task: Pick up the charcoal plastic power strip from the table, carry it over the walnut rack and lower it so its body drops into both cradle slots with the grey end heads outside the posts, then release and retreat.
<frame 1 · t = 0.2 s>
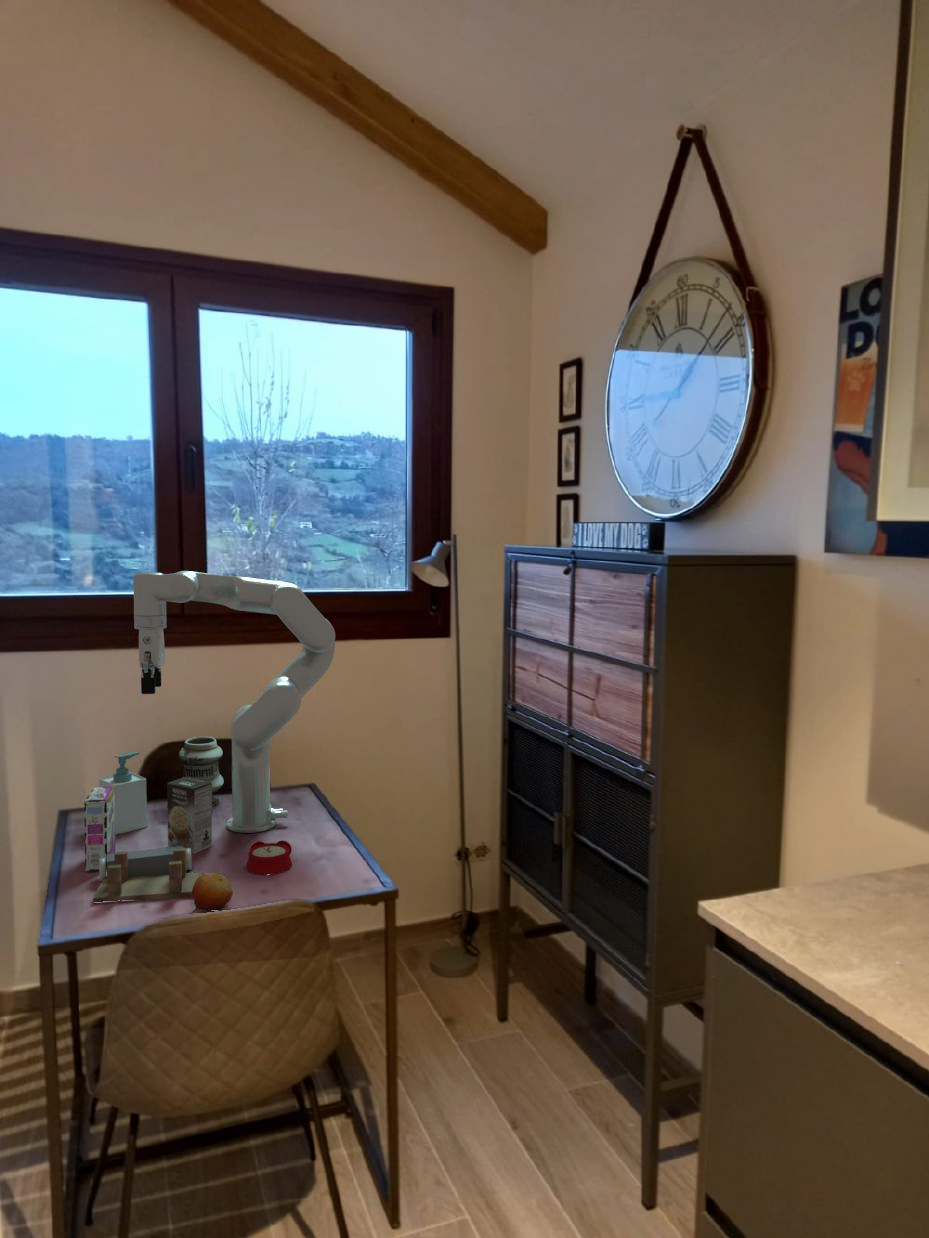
hand: (151, 690, 214), 36 cm above the table, tool pointing down, fingers open, 9 cm apart
apothecary jar: (201, 802, 241), on the table
candy bar box: (101, 863, 197), on the table
soap bottle: (124, 827, 220), on the table
power strip: (146, 875, 190), on the table
rack: (148, 890, 182), on the table
coffee box: (190, 847, 208), on the table
fruit: (212, 908, 174), on the table
alarm clock: (269, 865, 198), on the table
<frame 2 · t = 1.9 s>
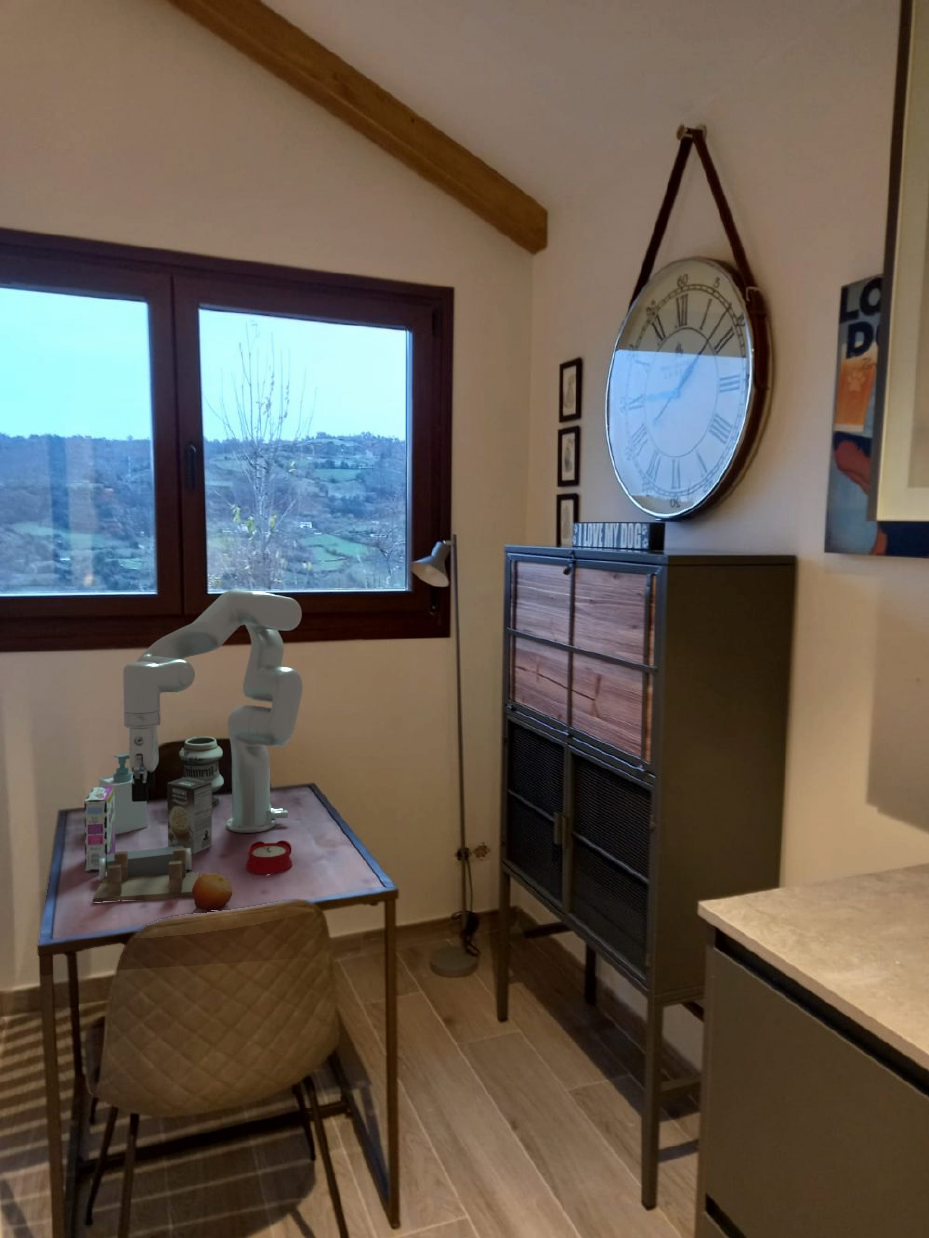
hand: (143, 794, 189), 18 cm above the table, tool pointing down, fingers open, 9 cm apart
nothing on the table moved.
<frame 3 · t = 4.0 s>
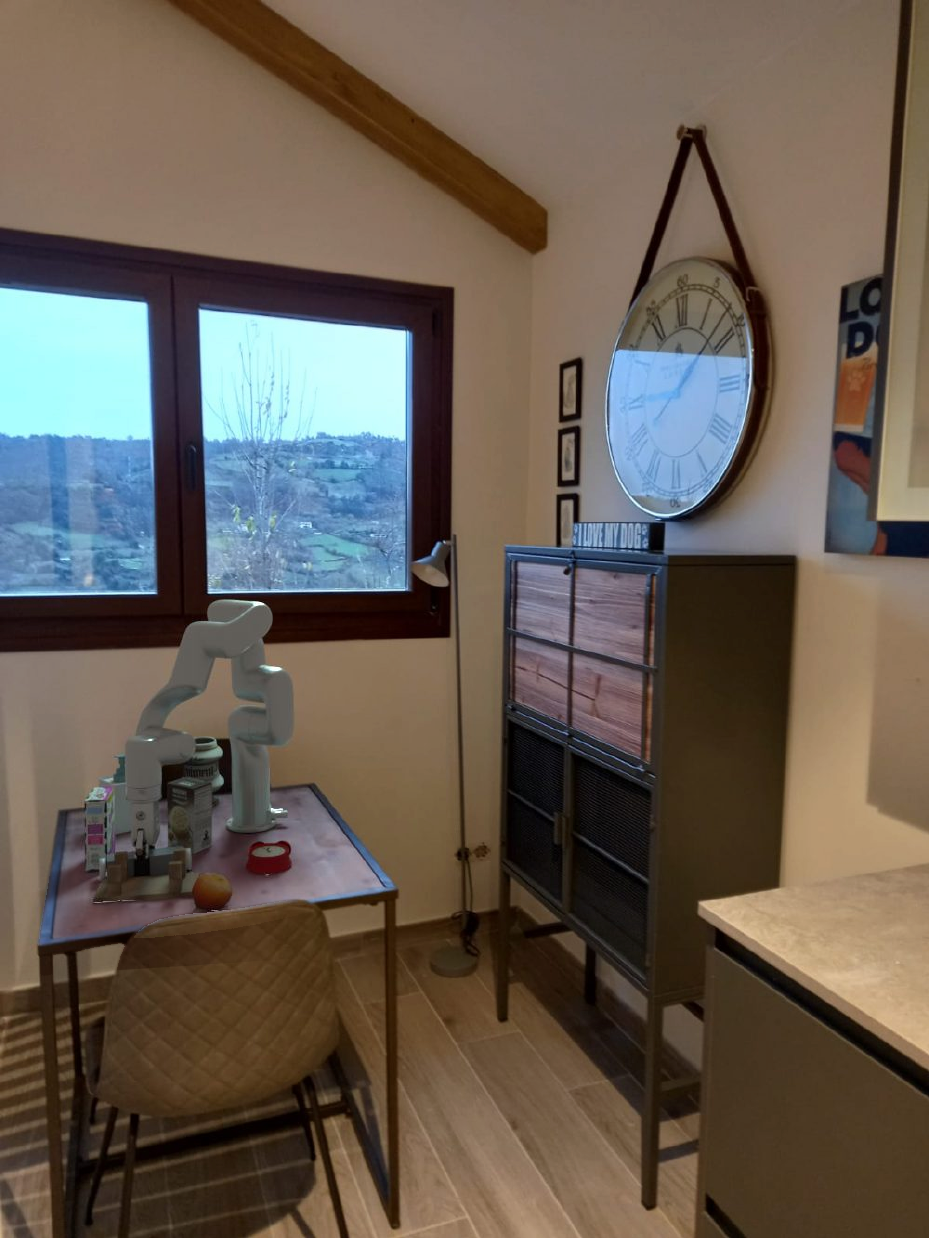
hand: (144, 868, 191), 1 cm above the table, tool pointing down, fingers open, 7 cm apart
nothing on the table moved.
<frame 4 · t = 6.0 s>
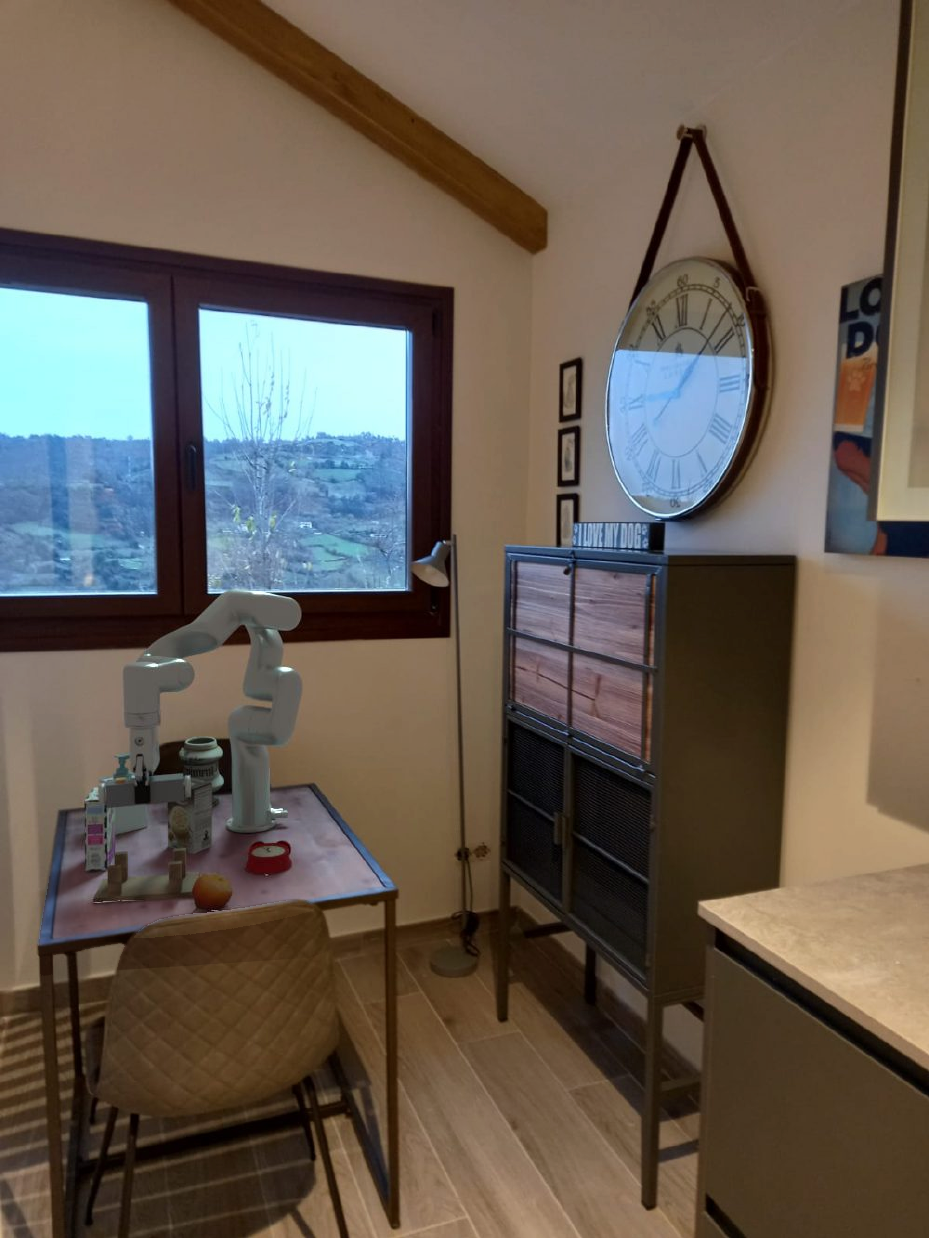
hand: (144, 798, 190), 17 cm above the table, tool pointing down, fingers closed on power strip, 5 cm apart
power strip: (146, 801, 190), point 16 cm above the table, touching gripper
everything else where it was.
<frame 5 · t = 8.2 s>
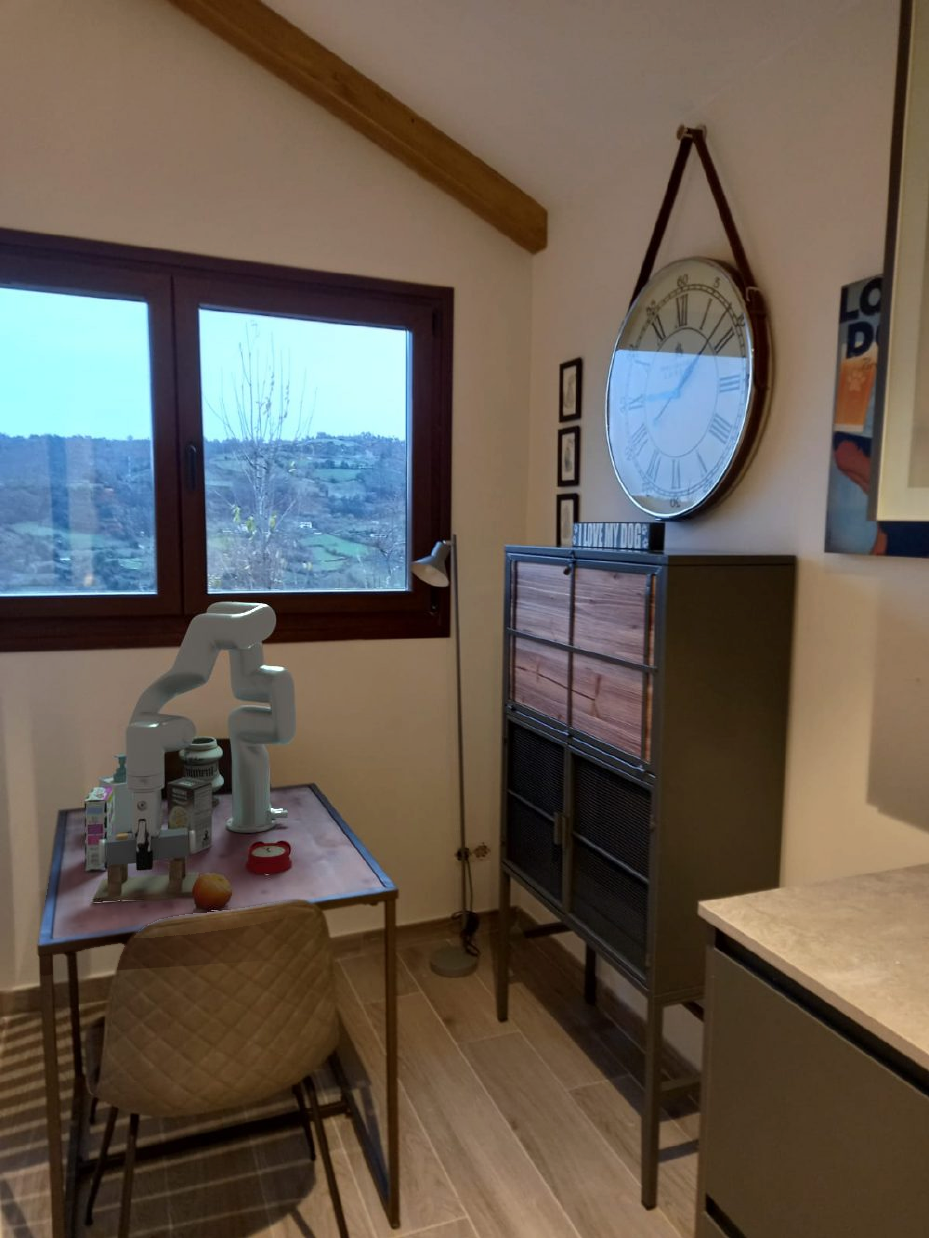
hand: (146, 863, 181), 6 cm above the table, tool pointing down, fingers closed on power strip, 5 cm apart
power strip: (148, 857, 181), point 7 cm above the table, touching gripper, rack
everything else where it was.
when the fingers open (2 cm above the table, at t = 9.5 s): power strip drops 3 cm, resting on rack.
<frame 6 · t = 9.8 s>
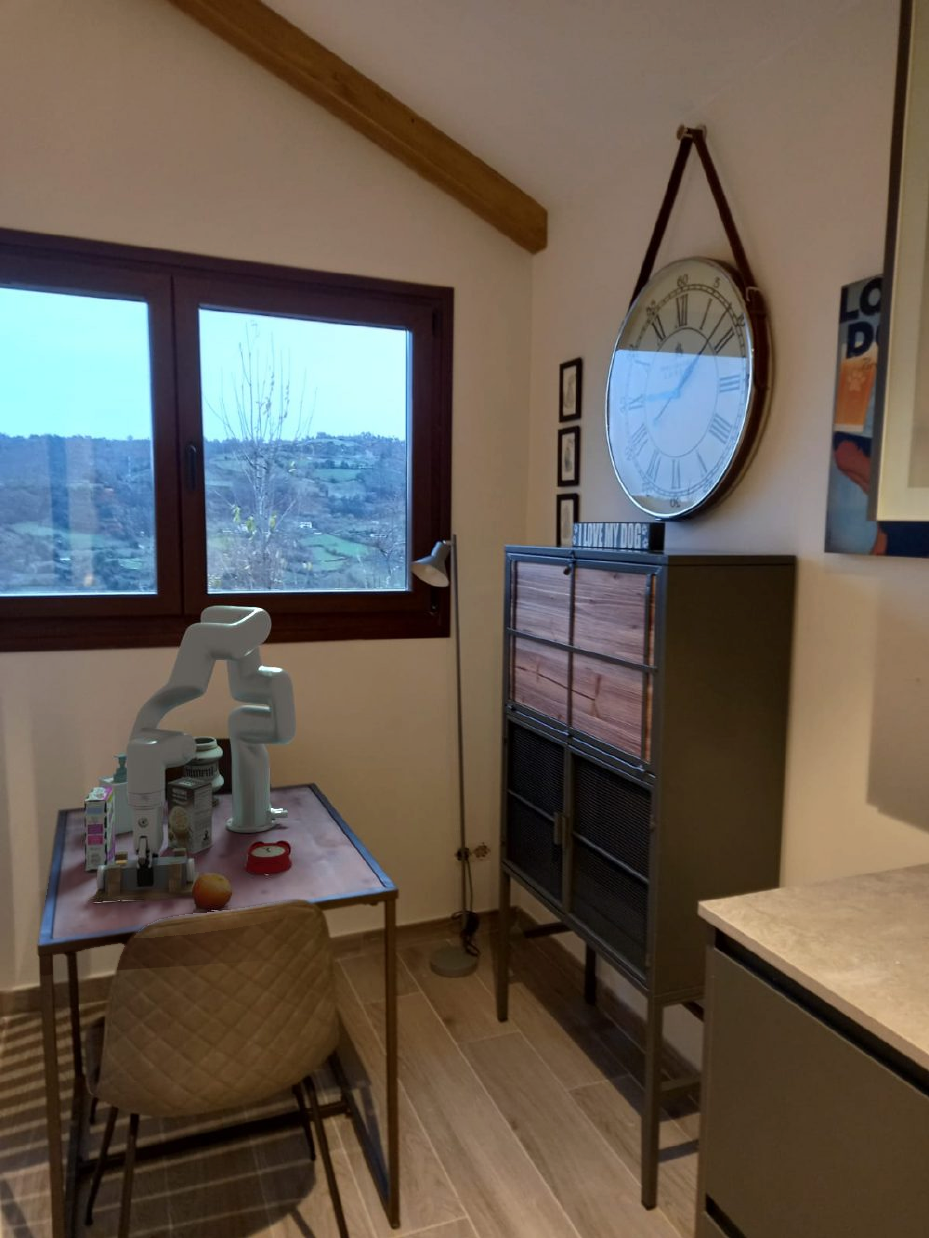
hand: (148, 877, 182), 3 cm above the table, tool pointing down, fingers open, 7 cm apart
power strip: (147, 885, 182), point 1 cm above the table, touching rack
everything else where it was.
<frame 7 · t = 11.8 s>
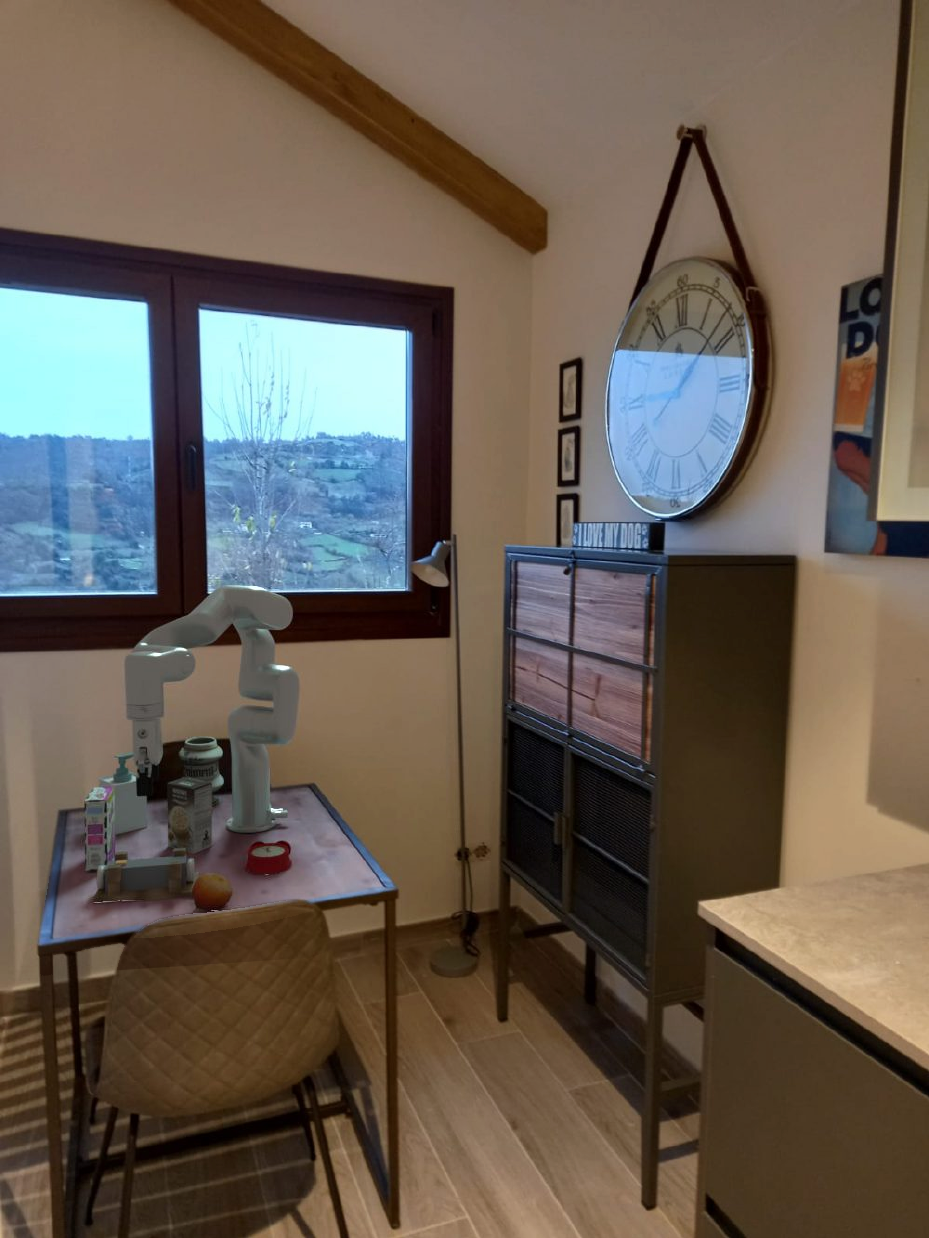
hand: (148, 788, 183), 21 cm above the table, tool pointing down, fingers open, 9 cm apart
nothing on the table moved.
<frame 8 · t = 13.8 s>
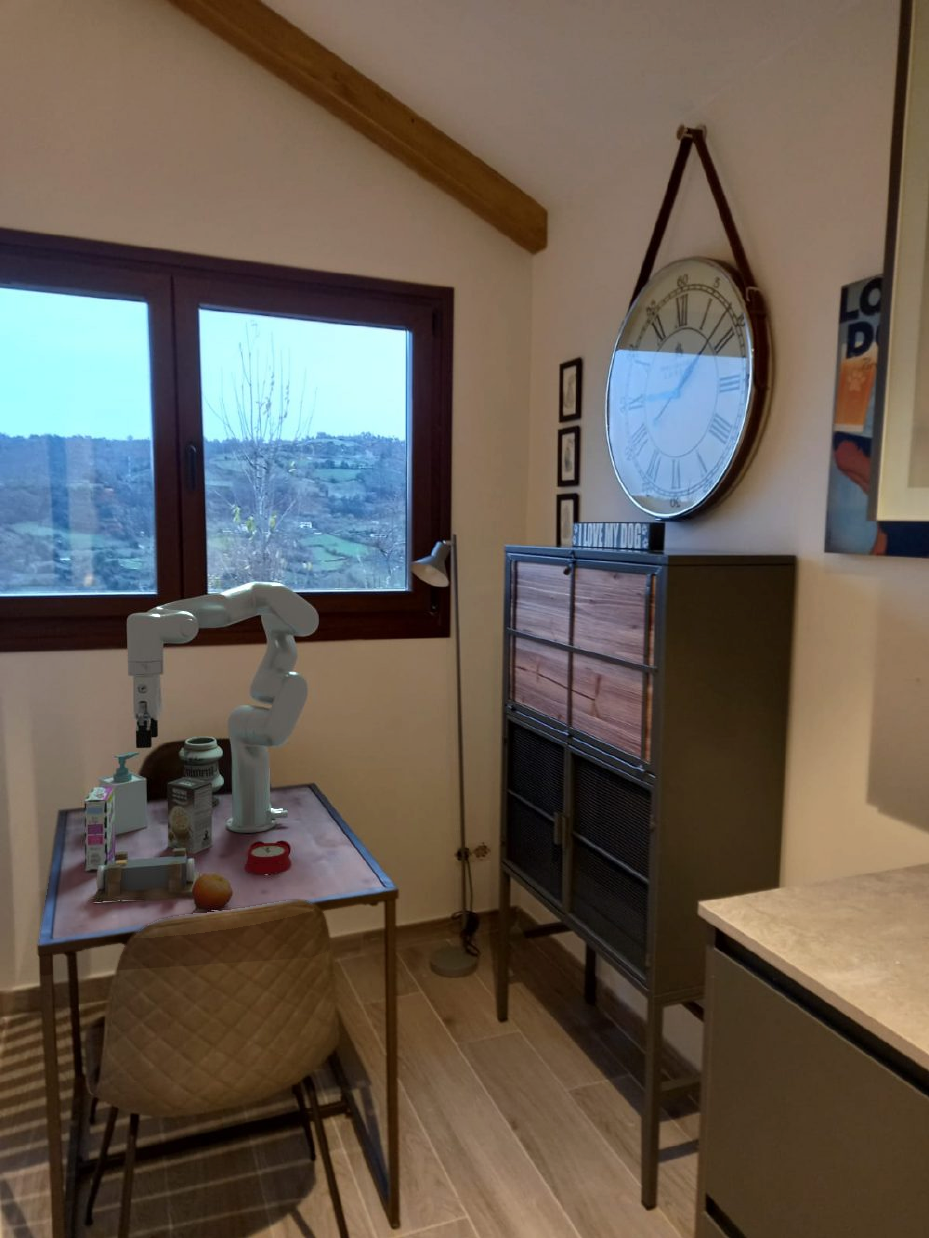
hand: (147, 742, 194), 28 cm above the table, tool pointing down, fingers open, 9 cm apart
nothing on the table moved.
at the end: power strip 0.3 cm off-centre on the rack, point 1.2 cm above the rack's base; power strip tilted 0°; the gripper is holding nothing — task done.
